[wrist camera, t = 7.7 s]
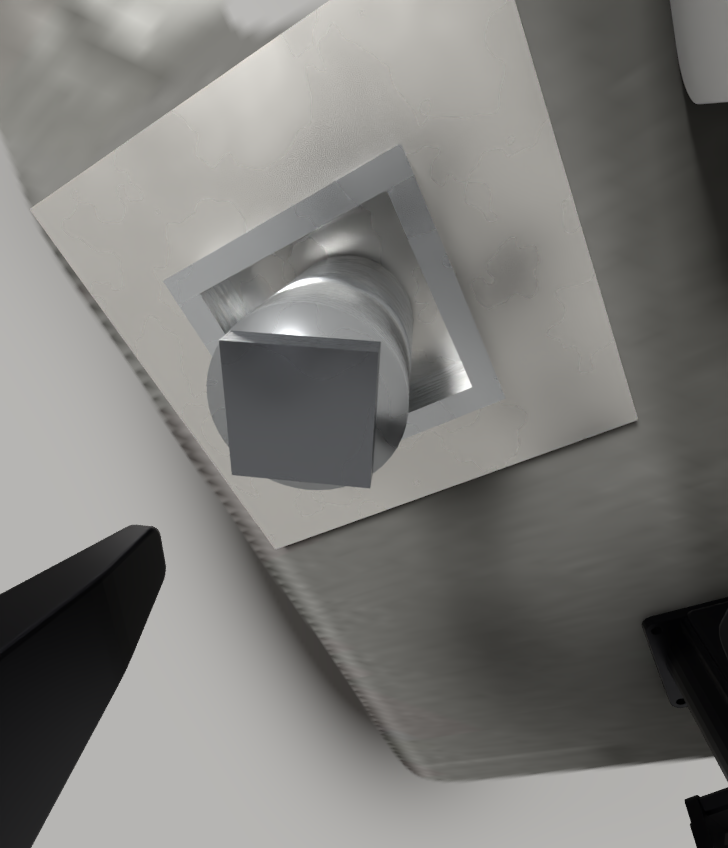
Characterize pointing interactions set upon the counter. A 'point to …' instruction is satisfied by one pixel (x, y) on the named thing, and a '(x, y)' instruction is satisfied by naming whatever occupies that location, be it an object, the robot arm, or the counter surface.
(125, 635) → the robot arm
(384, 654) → the counter surface
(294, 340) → the sleeve
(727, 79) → the grey rounded block
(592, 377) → the duct socket
